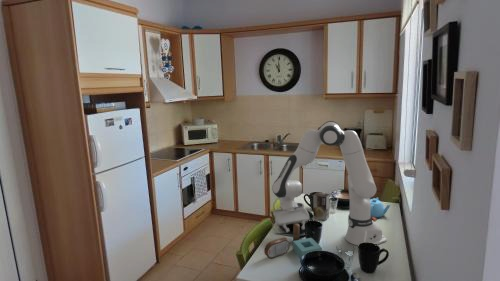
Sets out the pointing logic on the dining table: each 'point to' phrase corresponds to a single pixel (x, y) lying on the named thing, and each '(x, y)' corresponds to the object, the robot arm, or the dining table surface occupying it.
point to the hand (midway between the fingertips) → (295, 230)
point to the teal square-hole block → (305, 246)
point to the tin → (276, 247)
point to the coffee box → (321, 206)
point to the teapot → (377, 208)
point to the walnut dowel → (296, 232)
